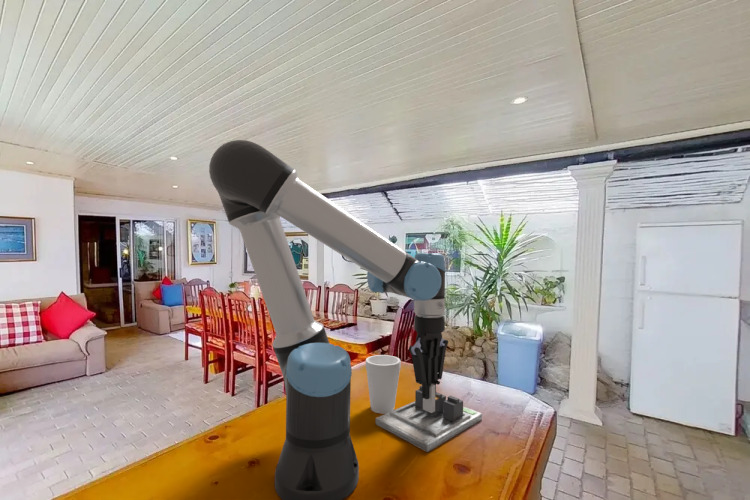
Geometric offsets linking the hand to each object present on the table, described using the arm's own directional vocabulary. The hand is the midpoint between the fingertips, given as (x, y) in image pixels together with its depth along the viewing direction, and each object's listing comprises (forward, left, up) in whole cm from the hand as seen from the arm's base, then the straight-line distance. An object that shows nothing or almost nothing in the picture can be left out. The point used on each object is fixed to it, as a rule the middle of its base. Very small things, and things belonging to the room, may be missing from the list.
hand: (429, 410), depth 85 cm
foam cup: (-3, +13, -3) cm, 14 cm away
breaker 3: (+4, -4, -1) cm, 6 cm away
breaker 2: (+3, 0, -1) cm, 3 cm away
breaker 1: (+4, +5, -2) cm, 6 cm away
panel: (0, 0, -3) cm, 3 cm away
